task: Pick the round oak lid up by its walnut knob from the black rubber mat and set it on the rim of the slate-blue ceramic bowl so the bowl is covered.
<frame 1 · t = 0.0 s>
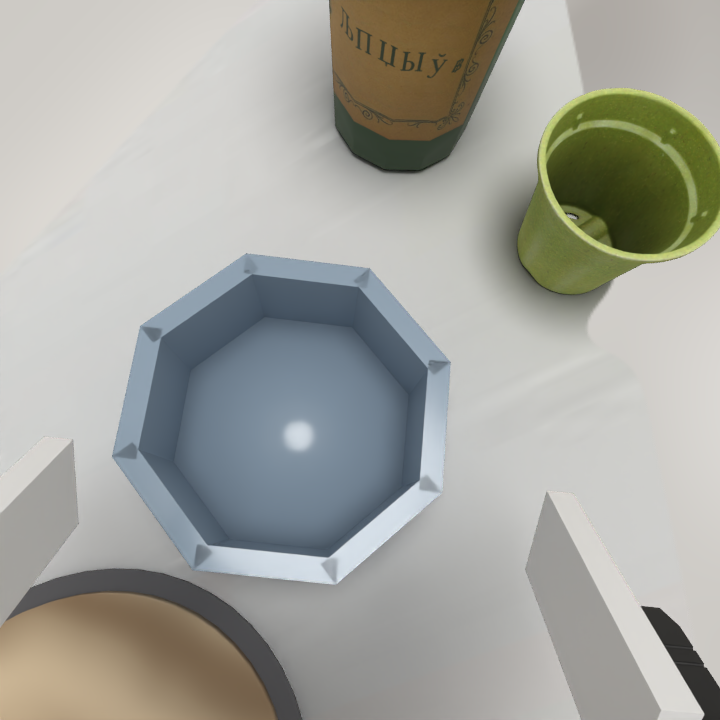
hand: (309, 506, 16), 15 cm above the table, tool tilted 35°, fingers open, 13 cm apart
bottle: (398, 120, 38), on the table
plant pot: (561, 251, 36), on the table
bowl: (295, 430, 32), on the table
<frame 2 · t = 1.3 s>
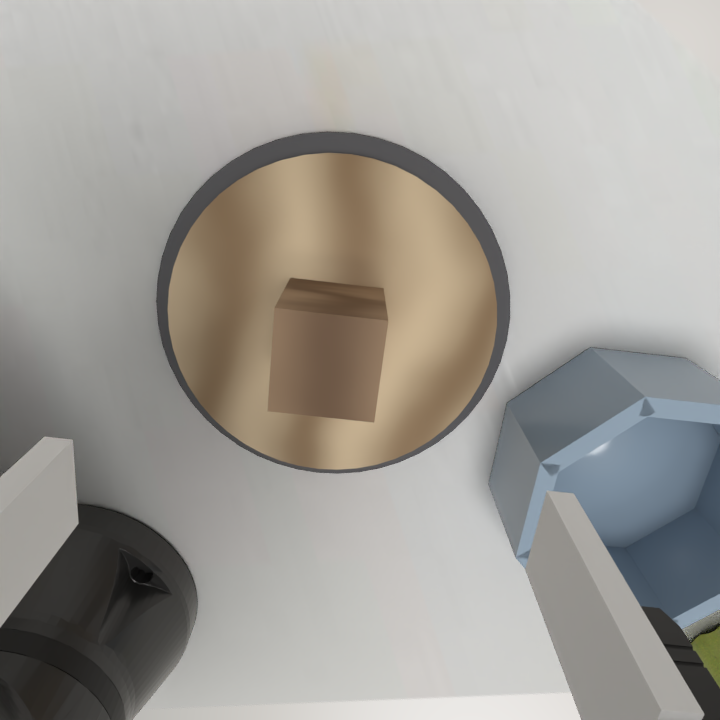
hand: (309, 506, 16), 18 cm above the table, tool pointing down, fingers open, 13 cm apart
lid: (333, 321, 33), resting on mat
bowl: (606, 456, 36), on the table
mat: (333, 318, 33), on the table
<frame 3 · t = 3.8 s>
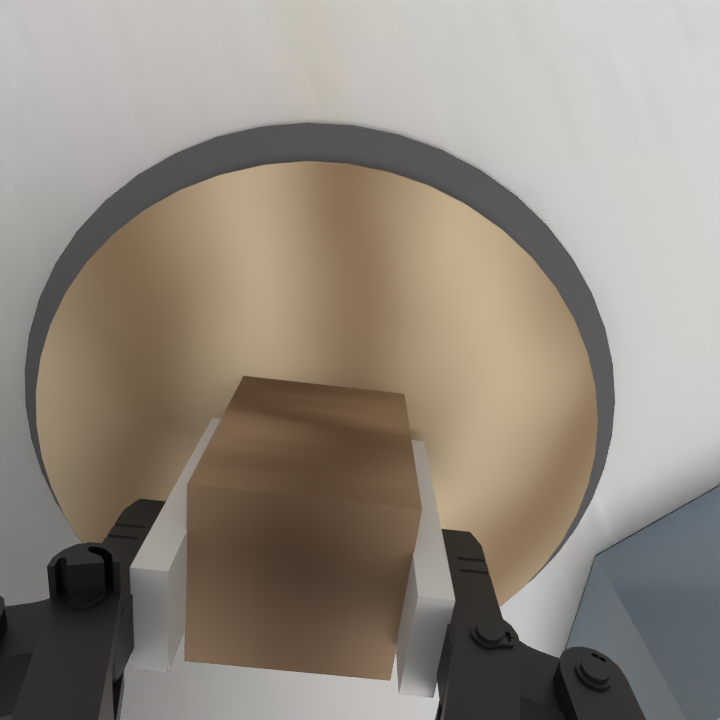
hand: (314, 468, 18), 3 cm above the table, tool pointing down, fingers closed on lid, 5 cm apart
lid: (319, 437, 20), resting on mat, touching gripper
mat: (320, 430, 20), on the table
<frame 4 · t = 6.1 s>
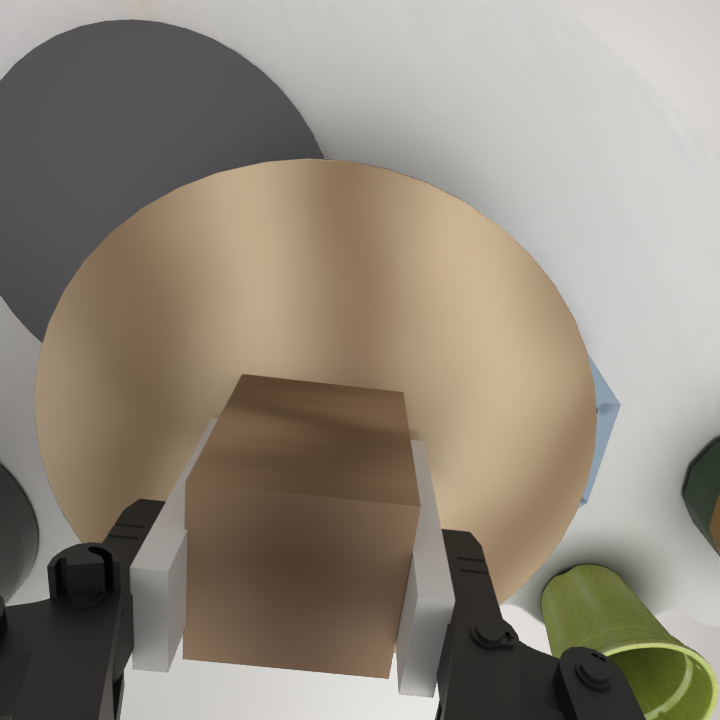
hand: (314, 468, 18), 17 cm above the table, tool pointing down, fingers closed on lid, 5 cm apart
lid: (318, 435, 20), point 15 cm above the table, touching gripper
plant pot: (581, 593, 42), on the table
bowl: (448, 383, 36), on the table
mat: (157, 226, 32), on the table
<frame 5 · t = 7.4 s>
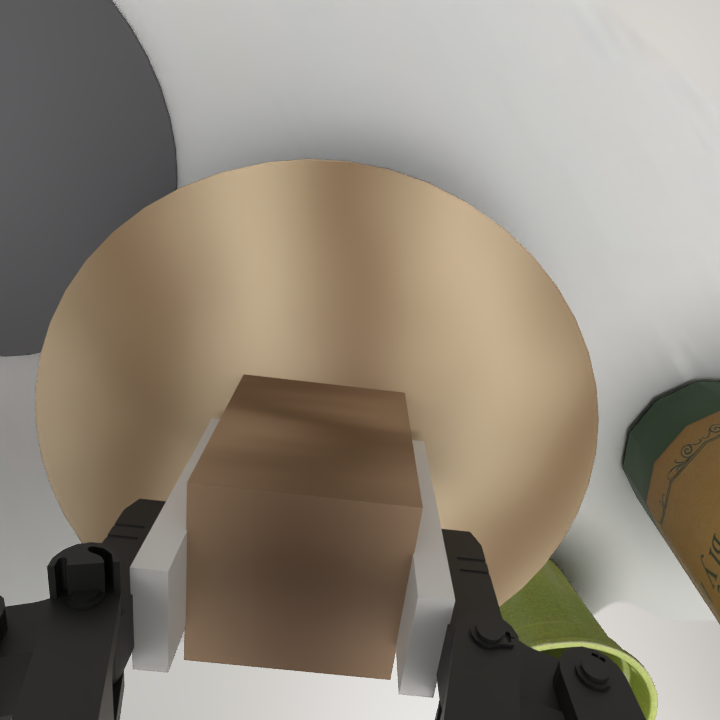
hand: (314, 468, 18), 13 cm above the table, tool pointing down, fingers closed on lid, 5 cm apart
bottle: (694, 444, 32), on the table
lid: (319, 436, 20), point 11 cm above the table, touching gripper
plant pot: (513, 584, 36), on the table
when the fingers open (11 cm above the table, at t = 8.4 s): lid drops 1 cm, resting on bowl.
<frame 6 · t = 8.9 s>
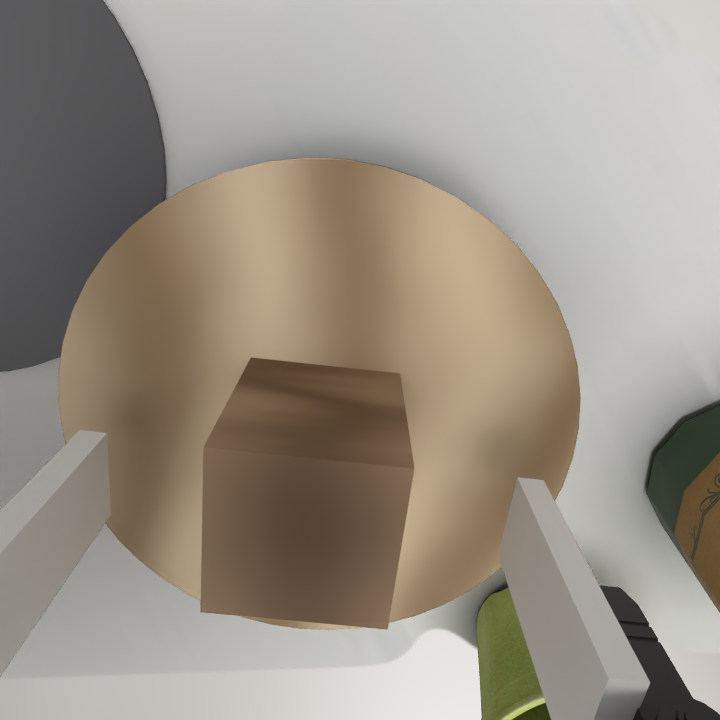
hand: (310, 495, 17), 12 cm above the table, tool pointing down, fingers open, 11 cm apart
lid: (321, 416, 21), point 7 cm above the table, touching bowl
plant pot: (527, 614, 34), on the table
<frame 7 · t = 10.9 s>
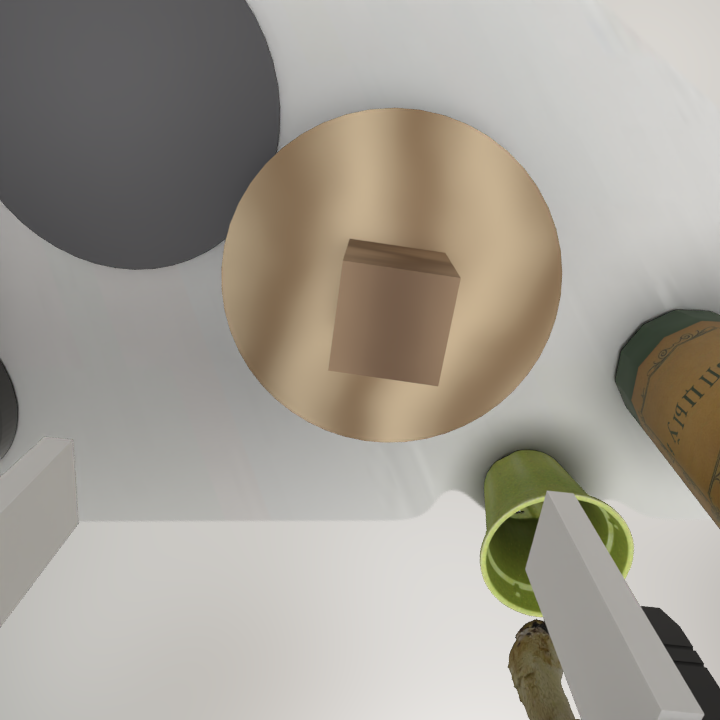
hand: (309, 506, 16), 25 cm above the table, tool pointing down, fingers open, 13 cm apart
bottle: (674, 364, 40), on the table
lid: (389, 287, 32), point 7 cm above the table, touching bowl
mushroom: (528, 627, 49), on the table
plant pot: (523, 481, 44), on the table
mat: (118, 106, 35), on the table
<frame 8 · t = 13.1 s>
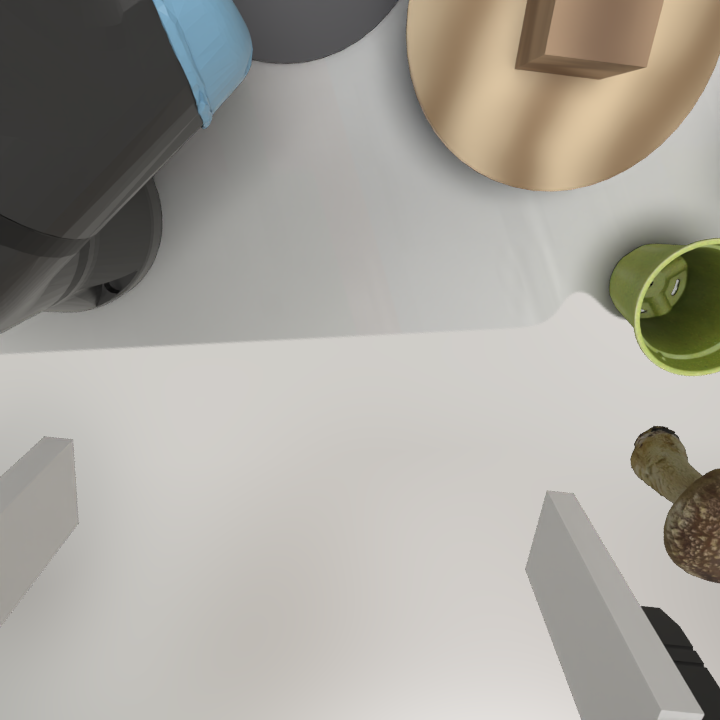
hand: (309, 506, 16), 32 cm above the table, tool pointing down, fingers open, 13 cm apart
lid: (560, 29, 33), point 7 cm above the table, touching bowl
mushroom: (643, 439, 51), on the table
plant pot: (645, 280, 46), on the table
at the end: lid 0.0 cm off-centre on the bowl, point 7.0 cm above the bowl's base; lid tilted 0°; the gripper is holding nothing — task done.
